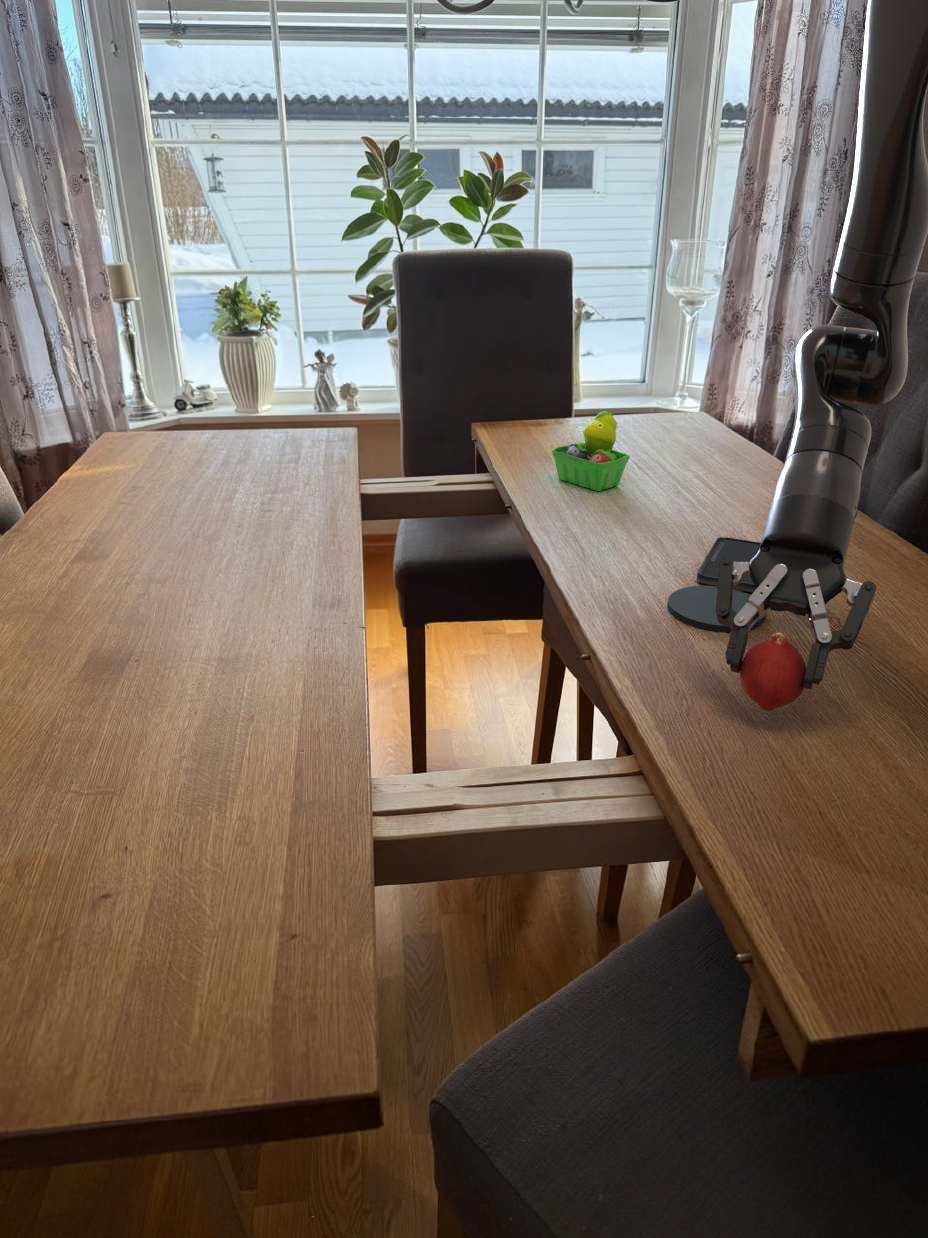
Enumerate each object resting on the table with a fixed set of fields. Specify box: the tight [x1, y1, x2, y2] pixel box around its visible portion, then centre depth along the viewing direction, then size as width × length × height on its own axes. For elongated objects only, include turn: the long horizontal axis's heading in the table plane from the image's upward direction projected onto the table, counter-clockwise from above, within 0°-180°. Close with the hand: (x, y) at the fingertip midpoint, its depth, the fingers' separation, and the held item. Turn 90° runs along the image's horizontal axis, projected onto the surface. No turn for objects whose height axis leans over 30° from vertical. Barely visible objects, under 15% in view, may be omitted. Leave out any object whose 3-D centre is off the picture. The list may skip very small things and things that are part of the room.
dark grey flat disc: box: [666, 585, 767, 633], centre depth 102 cm, size 11×11×1 cm
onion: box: [738, 631, 807, 712], centre depth 80 cm, size 6×6×8 cm
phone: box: [695, 536, 761, 594], centre depth 114 cm, size 8×1×15 cm
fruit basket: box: [551, 410, 631, 492], centre depth 145 cm, size 11×9×11 cm
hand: (770, 677), depth 79 cm, fingers closed on onion, 5 cm apart
